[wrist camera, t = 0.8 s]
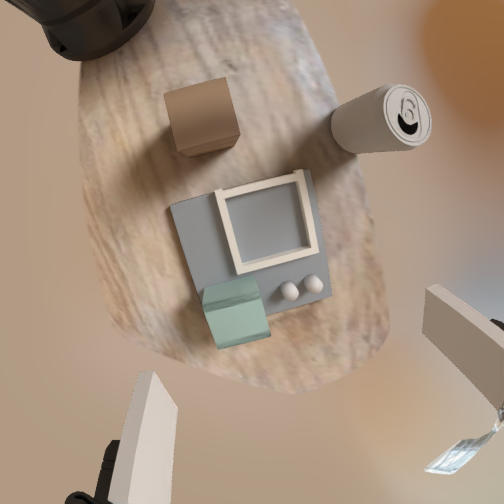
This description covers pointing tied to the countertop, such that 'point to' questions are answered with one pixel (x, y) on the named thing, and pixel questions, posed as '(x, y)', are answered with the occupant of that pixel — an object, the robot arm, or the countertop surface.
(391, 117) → the beverage can
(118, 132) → the countertop surface
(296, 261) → the jig board
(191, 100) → the block
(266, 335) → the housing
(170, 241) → the countertop surface
